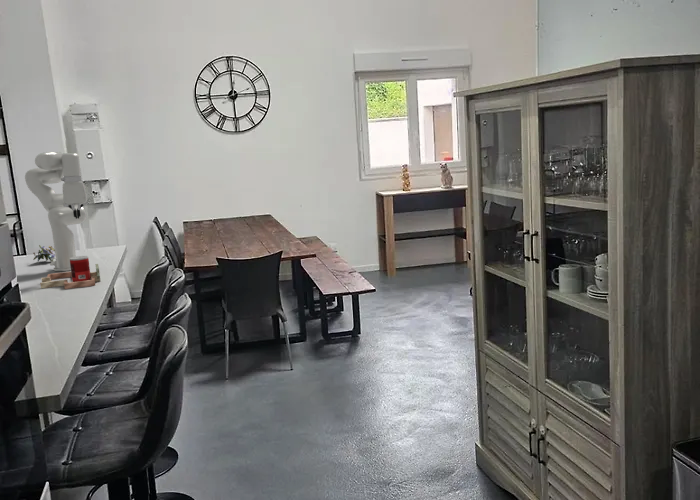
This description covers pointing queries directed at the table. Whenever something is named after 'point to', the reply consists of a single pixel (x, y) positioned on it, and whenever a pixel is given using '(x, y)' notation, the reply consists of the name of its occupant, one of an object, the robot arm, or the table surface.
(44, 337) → the table surface
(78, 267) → the canned food
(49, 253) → the passion flower
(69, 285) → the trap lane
